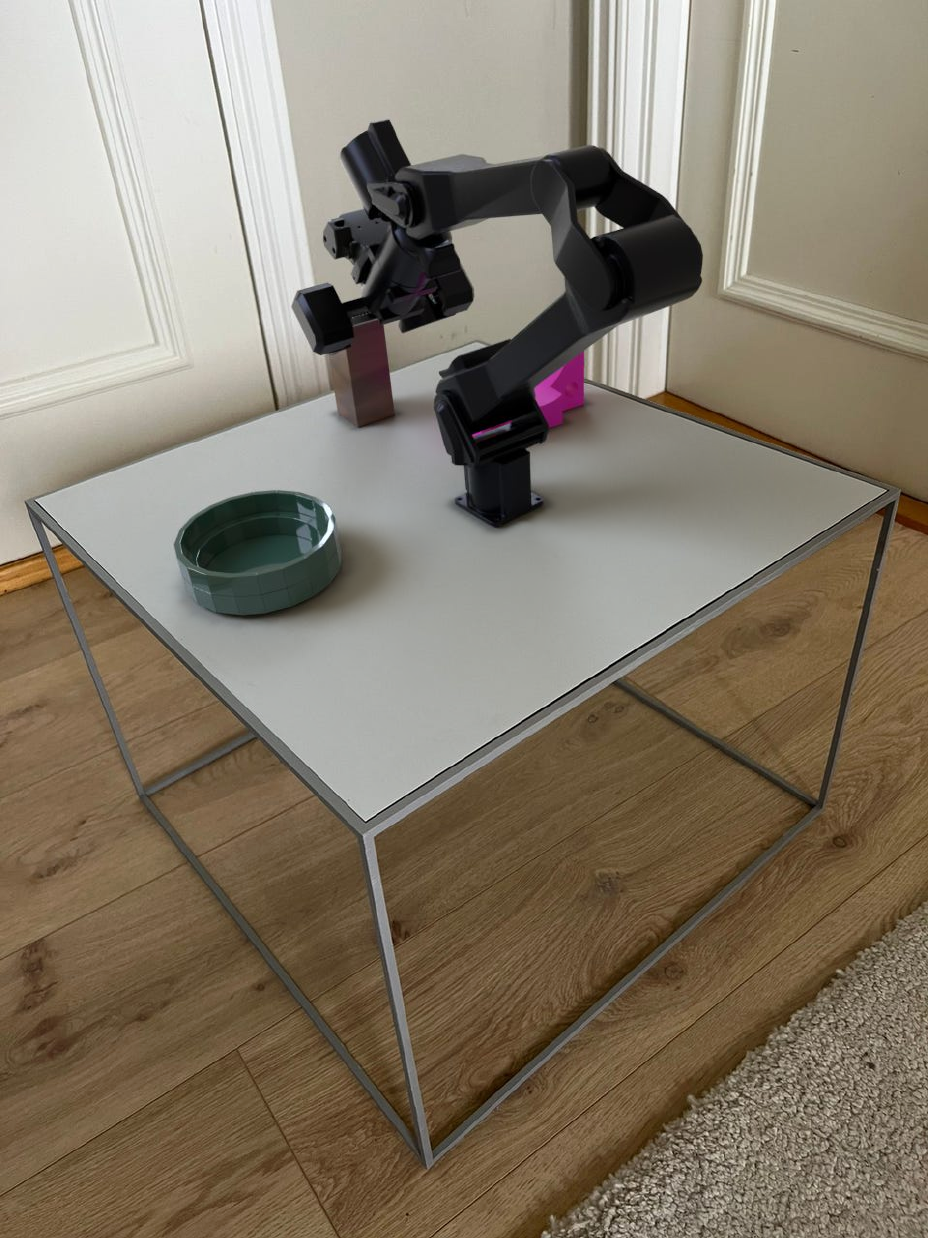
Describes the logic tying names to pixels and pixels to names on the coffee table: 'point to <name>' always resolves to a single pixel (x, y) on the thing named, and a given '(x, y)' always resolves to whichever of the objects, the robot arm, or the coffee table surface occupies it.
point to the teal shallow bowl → (258, 552)
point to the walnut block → (363, 376)
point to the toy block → (559, 392)
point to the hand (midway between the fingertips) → (365, 339)
